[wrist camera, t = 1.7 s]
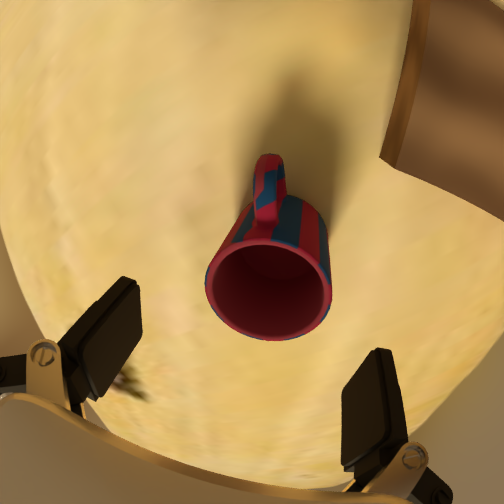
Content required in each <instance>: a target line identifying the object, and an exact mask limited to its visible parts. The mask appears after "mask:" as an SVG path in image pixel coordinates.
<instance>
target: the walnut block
mask: <svg viewBox="0 0 504 504" xmlns="http://www.w3.org/2000/svg"><path fill="white" fill-rule="evenodd" d="M379 158H381V159H382V160H384V161H385V162H386V163H388V164H389V165H390V166H392V167H393V168H394V169H396V170H399V171H402V172H404V173H406V174H409V175H411V176H414V177H416V178H419V179H421V180H423V181H425V182H428V183H430V184H432V185H434V186H437V187H439V188H441V189H443V190H445V191H447V192H450V193H452V194H454V195H456V196H458V197H460V198H462V199H464V200H466V201H468V202H470V203H472V204H473V205H475V206H477V207H479V208H481V209H483V210H485V211H486V212H488V213H490V214H492V215H494V216H495V217H497V218H499V219H500V220H502V221H504V11H503V10H501V9H500V8H499V7H497V6H496V5H495V4H493V3H492V2H491V1H489V0H413V7H412V15H411V22H410V29H409V35H408V41H407V46H406V52H405V57H404V62H403V67H402V72H401V77H400V81H399V85H398V90H397V94H396V98H395V102H394V106H393V110H392V114H391V118H390V121H389V125H388V129H387V132H386V136H385V139H384V143H383V146H382V149H381V153H380V156H379Z"/></svg>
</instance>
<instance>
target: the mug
mask: <svg viewBox="0 0 504 504" xmlns="http://www.w3.org/2000/svg"><path fill="white" fill-rule="evenodd" d="M205 292H206V296H207V299H208V301H209V303H210V305H211V307H212V309H213V310H214V312H215V313H216V315H217V316H218V317H219V318H220V319H221V320H222V321H223V322H224V323H225V324H227V325H228V326H229V327H231V328H232V329H234V330H236V331H237V332H239V333H241V334H244V335H246V336H249V337H252V338H255V339H259V340H266V341H283V340H290V339H294V338H298V337H300V336H303V335H305V334H307V333H309V332H310V331H312V330H313V329H315V328H316V327H317V326H318V325H319V324H320V323H321V322H322V321H323V320H324V318H325V317H326V315H327V313H328V311H329V309H330V306H331V302H332V280H331V267H330V255H329V245H328V235H327V230H326V226H325V224H324V221H323V219H322V217H321V216H320V215H319V213H318V212H317V211H316V210H315V209H314V208H313V207H312V206H311V205H310V204H308V203H307V202H305V201H303V200H301V199H299V198H297V197H294V196H290V195H287V191H286V182H285V171H284V164H283V160H282V158H281V157H280V155H277V154H264V155H262V156H261V157H260V158H259V160H258V161H257V164H256V167H255V171H254V179H253V202H252V203H251V204H249V205H248V206H247V207H246V208H245V209H244V210H243V211H242V213H241V215H240V216H239V218H238V219H237V221H236V222H235V224H234V226H233V227H232V229H231V230H230V232H229V234H228V235H227V237H226V238H225V240H224V242H223V243H222V245H221V246H220V248H219V250H218V251H217V253H216V255H215V256H214V258H213V259H212V261H211V263H210V264H209V266H208V269H207V272H206V275H205Z"/></svg>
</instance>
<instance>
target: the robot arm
mask: <svg viewBox="0 0 504 504" xmlns="http://www.w3.org/2000/svg"><path fill="white" fill-rule="evenodd" d="M142 333H143V330H142V317H141V302H140V287H139V285H137V282H136V280H133V279H131V278H128V277H125V276H122V277H120V278H119V279H118V280H117V281H116V282H115V283H114V284H113V285H112V286H111V287H110V288H109V289H108V290H107V292H106V293H105V294H104V295H103V296H102V297H101V298H100V299H99V300H98V301H95V302H94V303H93V304H92V305H91V306H90V307H89V308H88V309H87V311H86V312H85V313H84V314H83V315H82V316H81V317H80V318H79V319H78V320H77V321H76V323H75V324H74V325H73V326H72V327H71V328H70V329H69V330H68V331H67V333H66V334H65V335H64V336H63V337H62V338H61V339H60V341H59V342H58V343H55V342H54V341H52V340H49V339H42V340H38V341H36V342H34V343H33V344H32V345H31V346H30V347H29V349H28V351H27V354H22V355H15V356H9V357H1V358H0V504H452V500H453V493H452V490H451V488H450V487H449V486H448V485H447V484H446V483H445V482H444V481H443V480H441V479H440V478H439V477H438V476H437V475H436V474H435V473H434V472H433V471H431V470H430V469H429V468H428V467H427V465H428V460H429V457H428V453H427V451H426V449H425V448H424V446H422V445H421V444H420V443H418V442H408V434H407V427H406V420H405V413H404V407H403V401H402V396H401V390H400V386H399V384H398V379H397V374H396V369H395V364H394V360H393V355H392V352H391V350H389V349H384V348H378V347H377V348H376V349H375V350H372V351H370V353H369V354H368V356H367V357H366V358H365V360H364V361H363V363H362V364H361V365H360V367H359V368H358V370H357V371H356V372H355V374H354V375H353V376H352V378H351V379H350V380H349V382H348V383H347V384H346V385H345V387H344V388H343V390H342V395H341V402H342V436H341V465H342V466H344V472H354V479H353V480H352V481H351V483H350V484H349V485H348V486H347V487H346V488H345V489H344V490H343V491H342V492H334V491H333V492H332V491H319V490H306V489H297V488H288V487H281V486H274V485H268V484H262V483H257V482H252V481H247V480H242V479H238V478H233V477H229V476H225V475H221V474H217V473H214V472H210V471H207V470H203V469H200V468H197V467H193V466H190V465H187V464H184V463H181V462H179V461H176V460H173V459H170V458H167V457H165V456H162V455H160V454H157V453H155V452H152V451H150V450H147V449H145V448H142V447H140V446H138V445H136V444H133V443H131V442H129V441H127V440H125V439H123V438H121V437H119V436H117V435H115V434H113V433H111V432H109V431H107V430H105V429H103V428H100V427H99V426H97V425H95V424H93V423H91V422H89V421H88V420H86V415H85V411H84V405H83V402H84V401H85V399H86V398H87V397H88V398H90V399H91V400H93V401H95V402H96V401H97V399H98V398H99V397H103V396H104V395H105V393H106V391H107V390H108V388H109V387H110V385H111V384H112V382H113V380H114V379H115V377H116V376H117V374H118V373H119V371H120V370H121V368H122V366H123V365H124V363H125V362H126V360H127V359H128V357H129V356H130V354H131V353H132V351H133V350H134V348H135V347H136V345H137V344H138V342H139V341H140V339H141V337H142Z"/></svg>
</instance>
